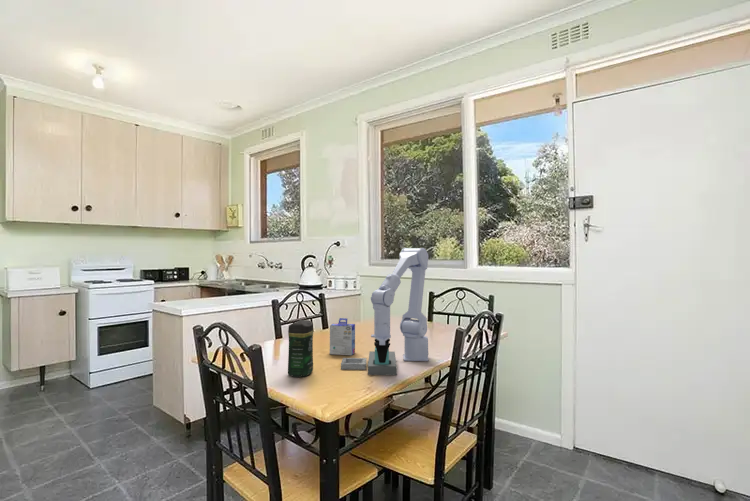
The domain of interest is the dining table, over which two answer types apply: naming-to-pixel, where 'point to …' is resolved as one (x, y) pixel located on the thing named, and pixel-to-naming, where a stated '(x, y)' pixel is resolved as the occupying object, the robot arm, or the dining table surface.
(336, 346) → the ink cartridge box
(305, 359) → the coffee jar
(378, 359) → the plug
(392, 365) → the switch box
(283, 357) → the dining table surface
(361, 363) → the grey rectangular frame
